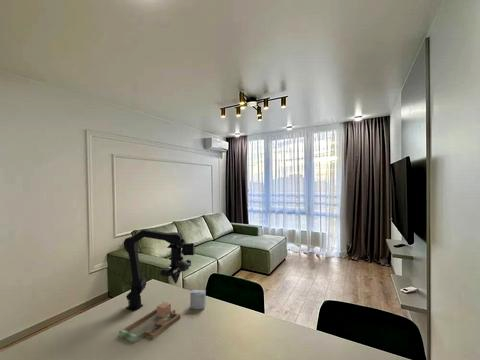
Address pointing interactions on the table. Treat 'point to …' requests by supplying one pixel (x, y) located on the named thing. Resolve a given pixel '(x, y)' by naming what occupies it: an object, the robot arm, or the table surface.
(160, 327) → the trap lane
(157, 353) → the table surface
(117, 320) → the table surface
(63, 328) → the table surface
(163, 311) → the block
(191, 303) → the medicine box
